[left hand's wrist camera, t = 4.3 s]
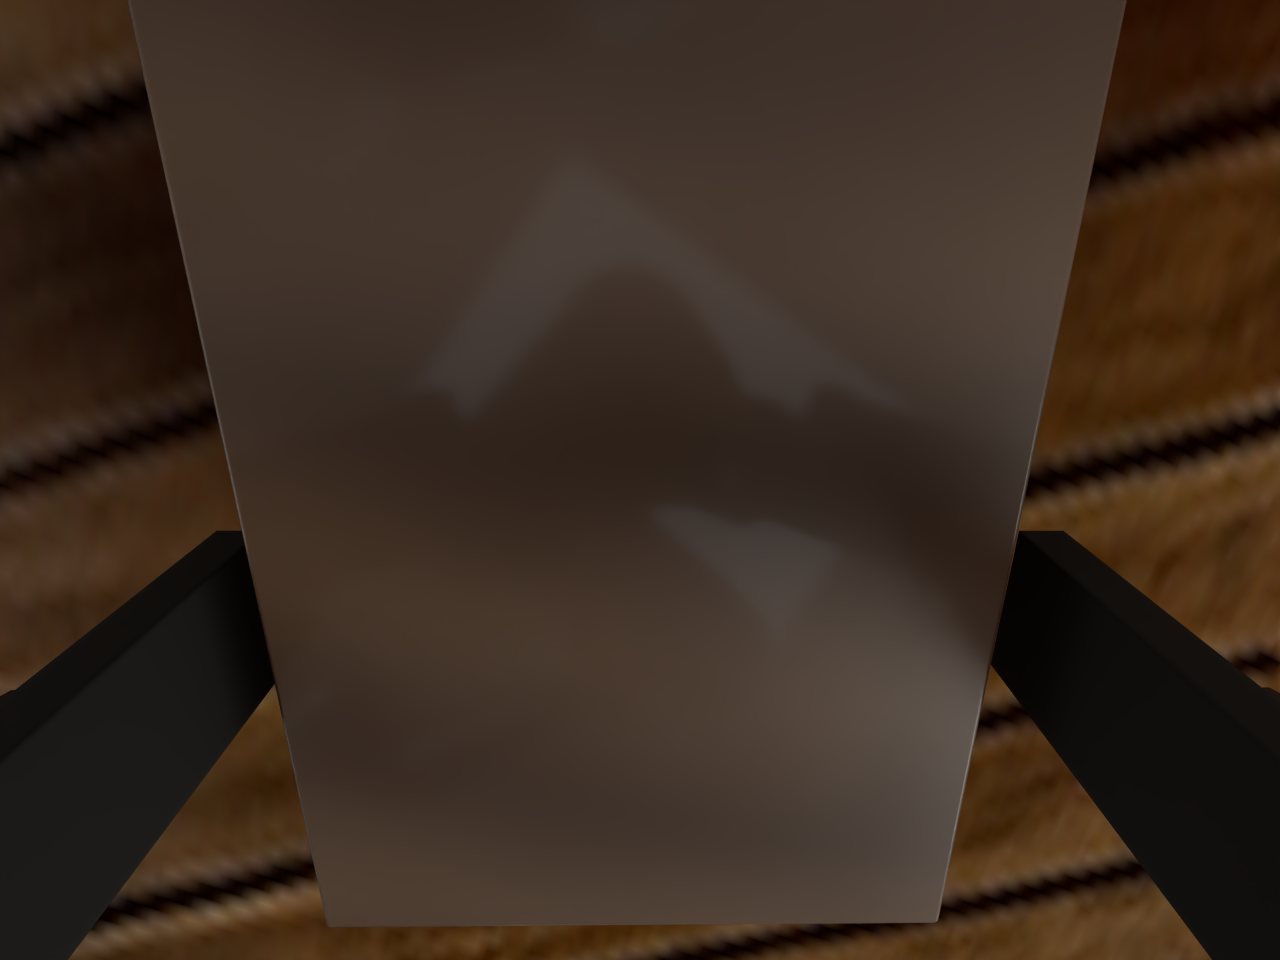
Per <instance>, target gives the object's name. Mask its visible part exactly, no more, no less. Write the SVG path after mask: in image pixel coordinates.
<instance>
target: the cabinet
mask: <svg viewBox="0 0 1280 960" xmlns="http://www.w3.org/2000/svg"><path fill="white" fill-rule="evenodd" d="M1126 1H1127V0H127V2H128V6H129V11H130V16H131V20H132V25H133V30H134V34H135V39H136V43H137V48H138V53H139V57H140V62H141V67H142V71H143V76H144V80H145V85H146V90H147V94H148V99H149V104H150V108H151V113H152V117H153V122H154V127H155V131H156V136H157V141H158V145H159V150H160V154H161V159H162V164H163V168H164V173H165V178H166V182H167V187H168V191H169V196H170V201H171V205H172V210H173V215H174V219H175V224H176V228H177V233H178V238H179V242H180V247H181V252H182V256H183V261H184V265H185V270H186V275H187V279H188V284H189V289H190V293H191V298H192V302H193V307H194V312H195V316H196V321H197V326H198V330H199V335H200V339H201V344H202V349H203V353H204V358H205V363H206V367H207V372H208V376H209V381H210V386H211V390H212V395H213V400H214V404H215V409H216V413H217V418H218V423H219V427H220V432H221V437H222V441H223V446H224V450H225V455H226V460H227V464H228V469H229V474H230V478H231V483H232V487H233V492H234V497H235V501H236V506H237V511H238V515H239V520H240V524H241V529H242V534H243V538H244V543H245V548H246V552H247V557H248V561H249V566H250V571H251V575H252V580H253V585H254V589H255V594H256V598H257V603H258V608H259V612H260V617H261V622H262V626H263V631H264V635H265V640H266V645H267V649H268V654H269V659H270V663H271V668H272V672H273V677H274V682H275V686H276V691H277V696H278V700H279V705H280V709H281V714H282V719H283V723H284V728H285V733H286V737H287V742H288V746H289V751H290V756H291V760H292V765H293V770H294V774H295V779H296V783H297V788H298V793H299V797H300V802H301V807H302V811H303V816H304V820H305V825H306V830H307V834H308V839H309V844H310V848H311V853H312V857H313V862H314V867H315V871H316V876H317V881H318V885H319V890H320V894H321V899H322V904H323V908H324V913H325V918H326V922H327V925H328V926H329V927H422V926H553V925H684V924H815V923H935V922H937V921H938V918H939V913H940V908H941V903H942V898H943V893H944V888H945V883H946V879H947V874H948V869H949V864H950V859H951V854H952V849H953V844H954V839H955V835H956V830H957V825H958V820H959V815H960V810H961V805H962V800H963V796H964V791H965V786H966V781H967V776H968V771H969V766H970V761H971V757H972V752H973V747H974V742H975V737H976V732H977V727H978V722H979V718H980V713H981V708H982V703H983V698H984V693H985V688H986V683H987V679H988V674H989V669H990V664H991V659H992V654H993V649H994V644H995V640H996V635H997V630H998V625H999V620H1000V615H1001V610H1002V605H1003V601H1004V596H1005V591H1006V586H1007V581H1008V576H1009V571H1010V566H1011V562H1012V557H1013V552H1014V547H1015V542H1016V537H1017V532H1018V527H1019V523H1020V518H1021V513H1022V508H1023V503H1024V498H1025V493H1026V488H1027V484H1028V479H1029V474H1030V469H1031V464H1032V459H1033V454H1034V449H1035V445H1036V440H1037V435H1038V430H1039V425H1040V420H1041V415H1042V410H1043V406H1044V401H1045V396H1046V391H1047V386H1048V381H1049V376H1050V371H1051V367H1052V362H1053V357H1054V352H1055V347H1056V342H1057V337H1058V332H1059V328H1060V323H1061V318H1062V313H1063V308H1064V303H1065V298H1066V293H1067V288H1068V284H1069V279H1070V274H1071V269H1072V264H1073V259H1074V254H1075V249H1076V245H1077V240H1078V235H1079V230H1080V225H1081V220H1082V215H1083V210H1084V206H1085V201H1086V196H1087V191H1088V186H1089V181H1090V176H1091V171H1092V167H1093V162H1094V157H1095V152H1096V147H1097V142H1098V137H1099V132H1100V128H1101V123H1102V118H1103V113H1104V108H1105V103H1106V98H1107V93H1108V89H1109V84H1110V79H1111V74H1112V69H1113V64H1114V59H1115V54H1116V50H1117V45H1118V40H1119V35H1120V30H1121V25H1122V20H1123V15H1124V11H1125V6H1126Z"/></svg>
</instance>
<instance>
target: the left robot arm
mask: <svg viewBox="0 0 1280 960" xmlns="http://www.w3.org/2000/svg"><path fill="white" fill-rule="evenodd" d="M991 665H992V667H993V668H994V669H995V671H996V672H997V673H998V675H999V676H1000V677H1001V679H1002V680H1003V681H1004V683H1005V684H1006V685H1007V687H1008V688H1009V689H1010V691H1011V692H1012V693H1013V695H1014V696H1015V697H1016V699H1017V700H1018V701H1019V703H1020V704H1021V705H1022V707H1023V708H1024V709H1025V711H1026V712H1027V713H1028V715H1029V716H1030V717H1031V719H1032V720H1033V721H1034V723H1035V724H1036V725H1037V727H1038V728H1039V729H1040V731H1041V732H1042V733H1043V735H1044V736H1045V737H1046V739H1047V740H1048V741H1049V743H1050V744H1051V745H1052V747H1053V748H1054V749H1055V751H1056V752H1057V753H1058V755H1059V756H1060V757H1061V759H1062V760H1063V761H1064V763H1065V764H1066V765H1067V767H1068V768H1069V769H1070V771H1071V772H1072V773H1073V775H1074V776H1075V777H1076V779H1077V780H1078V781H1079V783H1080V784H1081V785H1082V787H1083V788H1084V789H1085V791H1086V792H1087V793H1088V795H1089V796H1090V797H1091V799H1092V800H1093V801H1094V803H1095V804H1096V805H1097V807H1098V808H1099V809H1100V811H1101V812H1102V813H1103V815H1104V816H1105V817H1106V819H1107V820H1108V821H1109V823H1110V824H1111V825H1112V827H1113V828H1114V829H1115V831H1116V832H1117V833H1118V835H1119V836H1120V837H1121V839H1122V840H1123V841H1124V843H1125V844H1126V845H1127V847H1128V848H1129V849H1130V851H1131V852H1132V853H1133V855H1134V856H1135V857H1136V859H1137V860H1138V861H1139V863H1140V864H1141V865H1142V867H1143V868H1144V869H1145V871H1146V872H1147V873H1148V875H1149V876H1150V877H1151V879H1152V880H1153V881H1154V883H1155V884H1156V885H1157V887H1158V888H1159V889H1160V891H1161V892H1162V893H1163V895H1164V896H1165V897H1166V899H1167V900H1168V901H1169V903H1170V904H1171V905H1172V907H1173V908H1174V909H1175V911H1176V912H1177V913H1178V915H1179V916H1180V917H1181V919H1182V920H1183V921H1184V923H1185V924H1186V925H1187V927H1188V928H1189V929H1190V931H1191V932H1192V933H1193V935H1194V936H1195V937H1196V939H1197V940H1198V941H1199V943H1200V944H1201V945H1202V947H1203V948H1204V949H1205V951H1206V952H1207V953H1208V955H1209V956H1210V957H1211V959H1212V960H1280V693H1279V692H1277V691H1275V690H1273V689H1271V688H1261V687H1260V686H1259V685H1258V684H1256V683H1255V682H1254V681H1253V680H1251V679H1250V678H1249V677H1248V676H1246V675H1245V674H1244V673H1242V672H1241V671H1240V670H1239V669H1237V668H1236V667H1235V666H1234V665H1232V664H1231V663H1230V662H1229V661H1227V660H1226V659H1225V658H1223V657H1222V656H1221V655H1220V654H1218V653H1217V652H1216V651H1215V650H1213V649H1212V648H1211V647H1210V646H1208V645H1207V644H1206V643H1205V642H1203V641H1202V640H1201V639H1199V638H1198V637H1197V636H1196V635H1194V634H1193V633H1192V632H1191V631H1189V630H1188V629H1187V628H1186V627H1184V626H1183V625H1182V624H1180V623H1179V622H1178V621H1177V620H1175V619H1174V618H1173V617H1172V616H1170V615H1169V614H1168V613H1167V612H1165V611H1164V610H1163V609H1161V608H1160V607H1159V606H1158V605H1156V604H1155V603H1154V602H1153V601H1151V600H1150V599H1149V598H1148V597H1146V596H1145V595H1144V594H1143V593H1141V592H1140V591H1139V590H1137V589H1136V588H1135V587H1134V586H1132V585H1131V584H1130V583H1129V582H1127V581H1126V580H1125V579H1124V578H1122V577H1121V576H1120V575H1118V574H1117V573H1116V572H1115V571H1113V570H1112V569H1111V568H1110V567H1108V566H1107V565H1106V564H1105V563H1103V562H1102V561H1101V560H1100V559H1098V558H1097V557H1096V556H1094V555H1093V554H1092V553H1091V552H1089V551H1088V550H1087V549H1086V548H1084V547H1083V546H1082V545H1081V544H1079V543H1078V542H1077V541H1075V540H1074V539H1073V538H1072V537H1070V536H1069V535H1068V534H1067V533H1065V532H1064V531H1019V534H1018V538H1017V543H1016V548H1015V552H1014V557H1013V562H1012V567H1011V571H1010V576H1009V581H1008V585H1007V590H1006V595H1005V600H1004V604H1003V609H1002V614H1001V618H1000V623H999V628H998V633H997V637H996V642H995V647H994V651H993V656H992V661H991ZM274 684H275V682H274V677H273V672H272V668H271V663H270V659H269V654H268V649H267V645H266V640H265V635H264V631H263V626H262V622H261V617H260V612H259V608H258V603H257V598H256V594H255V589H254V585H253V580H252V575H251V571H250V566H249V561H248V557H247V552H246V548H245V543H244V538H243V534H242V531H216V532H215V533H213V534H212V535H211V536H210V537H208V538H207V539H206V540H205V541H203V542H202V543H201V544H199V545H198V546H197V547H196V548H194V549H193V550H192V551H191V552H189V553H188V554H187V555H186V556H184V557H183V558H182V559H180V560H179V561H178V562H177V563H175V564H174V565H173V566H172V567H170V568H169V569H168V570H167V571H165V572H164V573H163V574H162V575H160V576H159V577H158V578H156V579H155V580H154V581H153V582H151V583H150V584H149V585H148V586H146V587H145V588H144V589H143V590H141V591H140V592H139V593H137V594H136V595H135V596H134V597H132V598H131V599H130V600H129V601H127V602H126V603H125V604H124V605H122V606H121V607H120V608H119V609H117V610H116V611H115V612H113V613H112V614H111V615H110V616H108V617H107V618H106V619H105V620H103V621H102V622H101V623H100V624H98V625H97V626H96V627H94V628H93V629H92V630H91V631H89V632H88V633H87V634H86V635H84V636H83V637H82V638H81V639H79V640H78V641H77V642H75V643H74V644H73V645H72V646H70V647H69V648H68V649H67V650H65V651H64V652H63V653H62V654H60V655H59V656H58V657H57V658H55V659H54V660H53V661H51V662H50V663H49V664H48V665H46V666H45V667H44V668H43V669H41V670H40V671H39V672H38V673H36V674H35V675H34V676H32V677H31V678H30V679H29V680H27V681H26V682H25V683H24V684H22V685H21V686H20V687H19V688H17V689H16V690H11V691H9V692H7V693H5V694H3V695H1V696H0V960H68V959H69V957H70V956H71V955H72V953H73V952H74V951H75V949H76V948H77V947H78V945H79V944H80V943H81V941H82V940H83V939H84V937H85V936H86V935H87V933H88V932H89V931H90V929H91V928H92V927H93V925H94V924H95V923H96V921H97V920H98V919H99V917H100V916H101V915H102V913H103V912H104V911H105V909H106V908H107V907H108V905H109V904H110V903H111V901H112V900H113V899H114V897H115V896H116V895H117V893H118V892H119V891H120V889H121V888H122V887H123V885H124V884H125V883H126V881H127V880H128V879H129V877H130V876H131V875H132V873H133V872H134V871H135V869H136V868H137V867H138V865H139V864H140V863H141V861H142V860H143V859H144V857H145V856H146V855H147V853H148V852H149V851H150V849H151V848H152V847H153V845H154V844H155V843H156V841H157V840H158V839H159V837H160V836H161V835H162V833H163V832H164V831H165V829H166V828H167V827H168V825H169V824H170V823H171V821H172V820H173V819H174V817H175V816H176V815H177V813H178V812H179V811H180V809H181V808H182V807H183V805H184V804H185V803H186V801H187V800H188V799H189V797H190V796H191V795H192V793H193V792H194V791H195V789H196V788H197V787H198V785H199V784H200V783H201V781H202V780H203V779H204V777H205V776H206V775H207V773H208V772H209V771H210V769H211V768H212V767H213V765H214V764H215V763H216V761H217V760H218V759H219V757H220V756H221V755H222V753H223V752H224V751H225V749H226V748H227V747H228V745H229V744H230V743H231V741H232V740H233V739H234V737H235V736H236V735H237V733H238V732H239V731H240V729H241V728H242V727H243V725H244V724H245V723H246V721H247V720H248V719H249V717H250V716H251V715H252V713H253V712H254V711H255V709H256V708H257V707H258V705H259V704H260V703H261V701H262V700H263V699H264V697H265V696H266V695H267V693H268V692H269V691H270V689H271V688H272V687H273V685H274Z"/></svg>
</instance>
